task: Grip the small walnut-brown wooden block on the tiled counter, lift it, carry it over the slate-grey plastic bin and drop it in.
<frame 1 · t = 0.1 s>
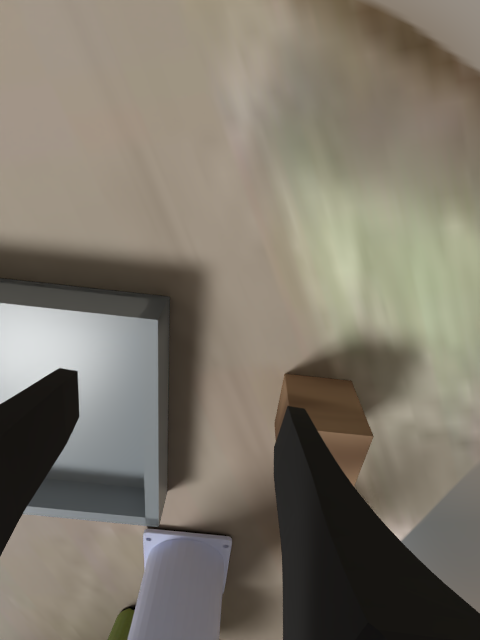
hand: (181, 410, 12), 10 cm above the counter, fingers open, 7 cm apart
bin: (56, 398, 25), on the counter
block: (311, 402, 25), on the counter
plant pot: (148, 618, 40), on the counter
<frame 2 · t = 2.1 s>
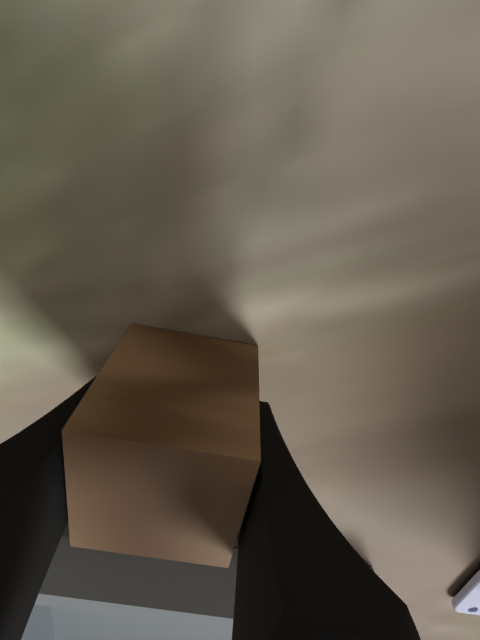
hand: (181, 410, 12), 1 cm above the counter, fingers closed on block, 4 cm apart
bin: (187, 618, 22), on the counter
block: (187, 384, 13), on the counter, touching gripper
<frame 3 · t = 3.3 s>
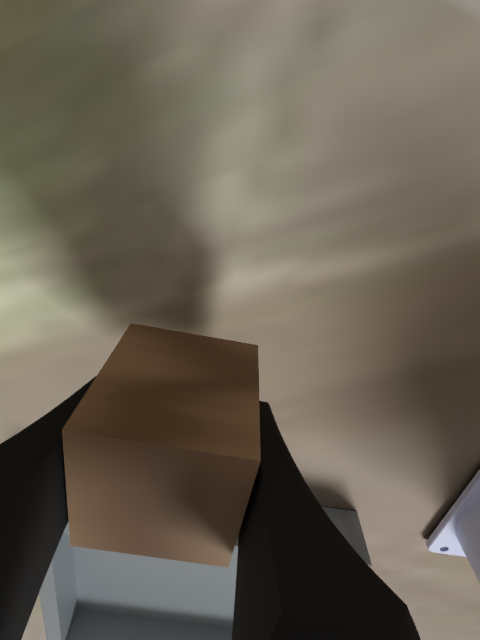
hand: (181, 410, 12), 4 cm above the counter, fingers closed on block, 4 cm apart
bin: (193, 563, 25), on the counter
block: (187, 384, 13), point 3 cm above the counter, touching gripper
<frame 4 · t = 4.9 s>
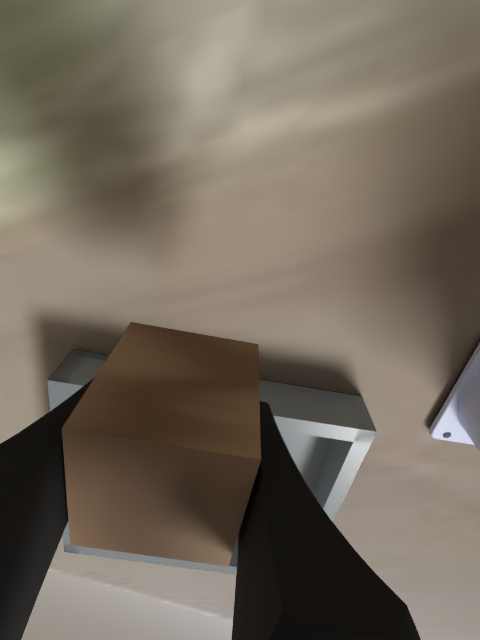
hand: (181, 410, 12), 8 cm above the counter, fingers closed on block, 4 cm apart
bin: (204, 462, 25), on the counter
block: (188, 383, 13), point 7 cm above the counter, touching gripper
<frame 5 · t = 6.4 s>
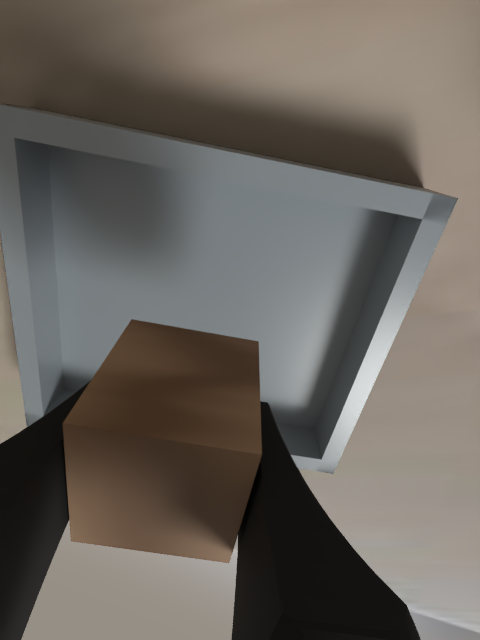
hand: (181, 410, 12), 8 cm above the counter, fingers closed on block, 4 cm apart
bin: (208, 306, 19), on the counter
block: (188, 380, 13), point 7 cm above the counter, touching gripper
when the fingers open (4 cm above the counter, at t = 7.8 s): block drops 2 cm, resting on bin.
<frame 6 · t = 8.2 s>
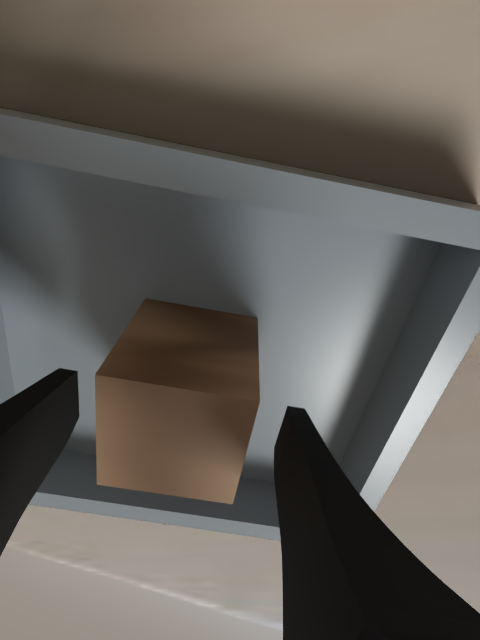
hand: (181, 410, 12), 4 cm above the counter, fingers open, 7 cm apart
bin: (197, 349, 16), on the counter
block: (195, 354, 15), point 1 cm above the counter, touching bin
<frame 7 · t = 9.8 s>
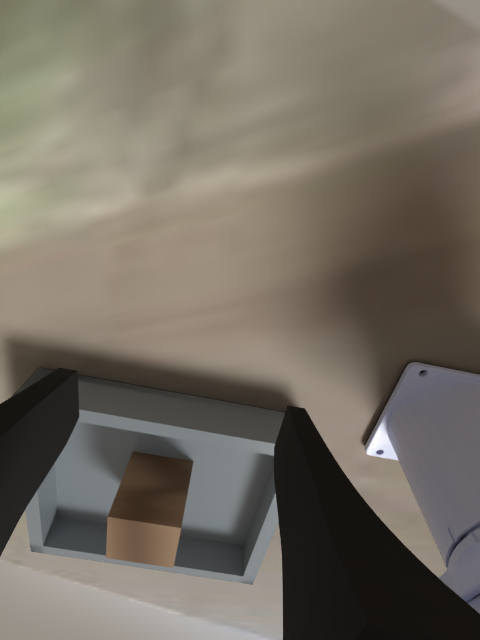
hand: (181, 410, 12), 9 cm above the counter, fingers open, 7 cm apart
bin: (162, 471, 27), on the counter
block: (160, 476, 27), point 1 cm above the counter, touching bin
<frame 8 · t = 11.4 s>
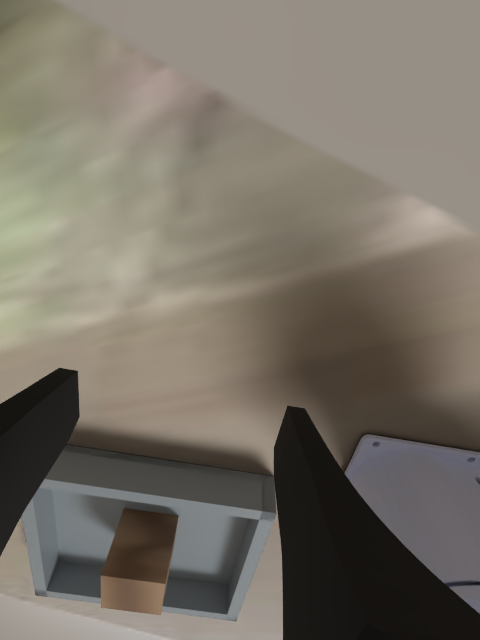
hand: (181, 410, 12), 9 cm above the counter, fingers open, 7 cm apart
bin: (151, 522, 30), on the counter
block: (149, 528, 30), point 1 cm above the counter, touching bin
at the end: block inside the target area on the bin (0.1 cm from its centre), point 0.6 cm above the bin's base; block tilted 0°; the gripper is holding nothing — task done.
